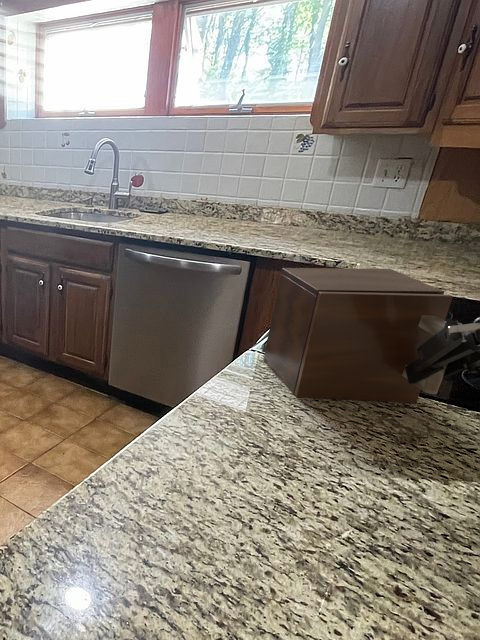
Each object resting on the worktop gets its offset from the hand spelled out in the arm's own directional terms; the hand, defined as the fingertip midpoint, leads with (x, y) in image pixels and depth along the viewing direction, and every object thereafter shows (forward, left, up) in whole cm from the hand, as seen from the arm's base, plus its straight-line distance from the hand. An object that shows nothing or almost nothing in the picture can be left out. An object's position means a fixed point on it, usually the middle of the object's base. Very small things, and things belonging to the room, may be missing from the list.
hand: (419, 375), depth 79 cm
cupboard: (+13, 0, -6) cm, 14 cm away
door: (+3, +6, -6) cm, 9 cm away
